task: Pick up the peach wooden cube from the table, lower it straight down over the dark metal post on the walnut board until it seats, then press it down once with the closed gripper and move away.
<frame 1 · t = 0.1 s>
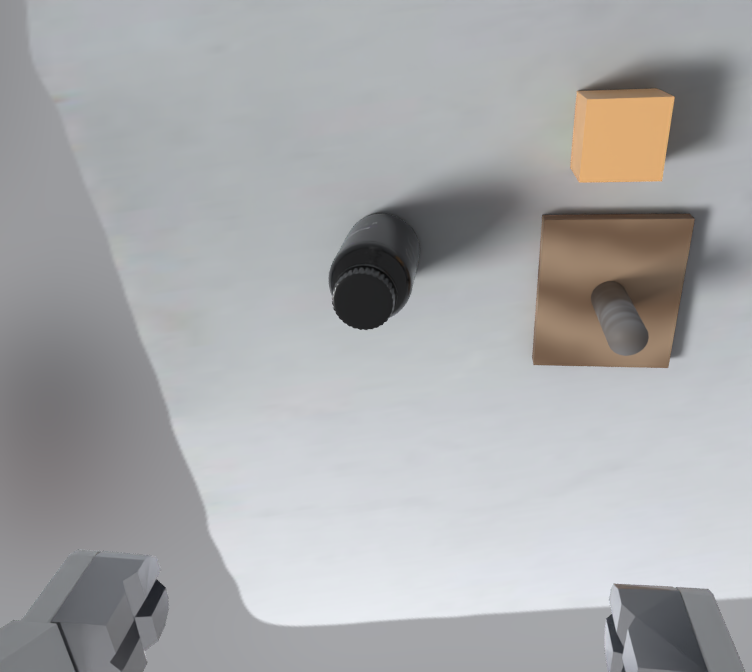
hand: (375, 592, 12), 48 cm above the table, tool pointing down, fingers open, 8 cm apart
supplement bottle: (383, 247, 60), on the table
peach wooden cube: (612, 129, 52), on the table
post board: (605, 290, 58), on the table
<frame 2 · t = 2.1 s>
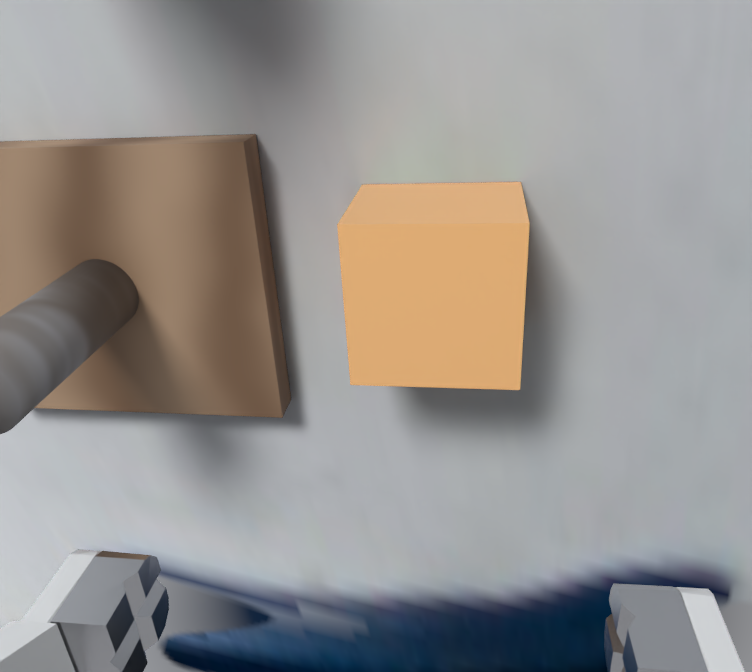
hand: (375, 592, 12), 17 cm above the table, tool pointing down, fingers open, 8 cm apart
peach wooden cube: (440, 257, 26), on the table
post board: (121, 278, 29), on the table
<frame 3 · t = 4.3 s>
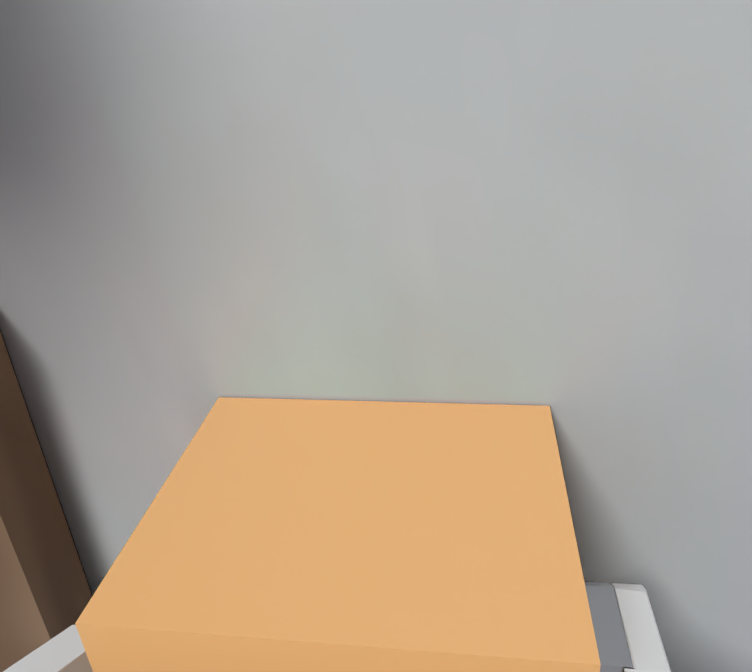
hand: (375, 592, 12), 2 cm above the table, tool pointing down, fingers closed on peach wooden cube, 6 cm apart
peach wooden cube: (385, 527, 13), on the table, touching gripper
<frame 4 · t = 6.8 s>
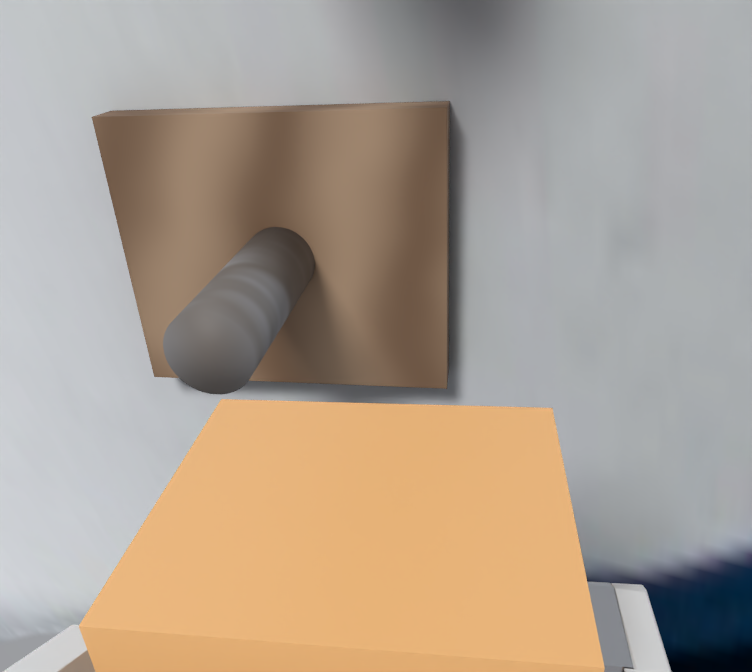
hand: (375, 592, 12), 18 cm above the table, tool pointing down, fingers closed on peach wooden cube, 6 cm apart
peach wooden cube: (388, 529, 13), point 17 cm above the table, touching gripper
post board: (289, 248, 29), on the table
when the fingers open (8 cm above the table, at t = 9.7 s): peach wooden cube drops 1 cm, resting on post board.
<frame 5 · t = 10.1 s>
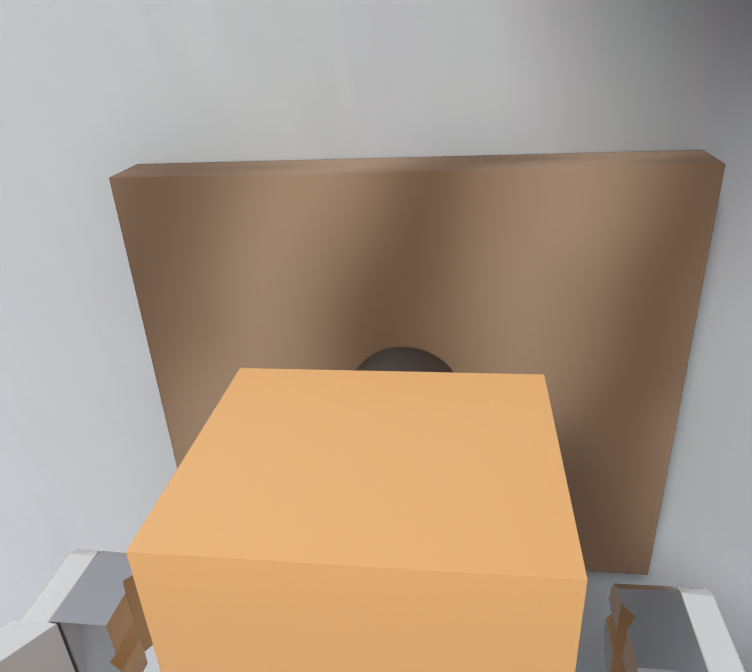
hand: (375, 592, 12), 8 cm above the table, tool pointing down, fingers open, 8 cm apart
peach wooden cube: (392, 491, 14), point 5 cm above the table, touching post board
post board: (409, 368, 19), on the table
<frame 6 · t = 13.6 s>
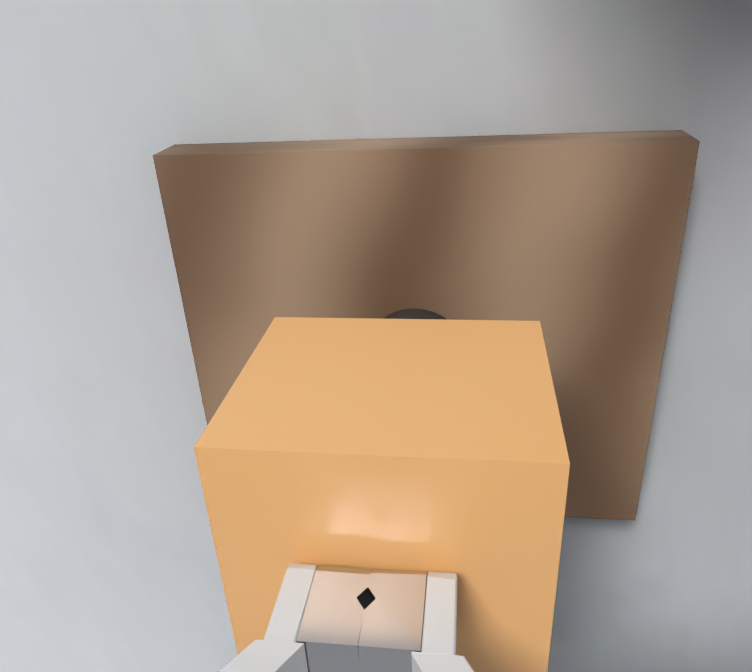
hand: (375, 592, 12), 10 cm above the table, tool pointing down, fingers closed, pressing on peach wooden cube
peach wooden cube: (407, 428, 16), point 5 cm above the table, touching gripper, post board
post board: (419, 331, 21), on the table
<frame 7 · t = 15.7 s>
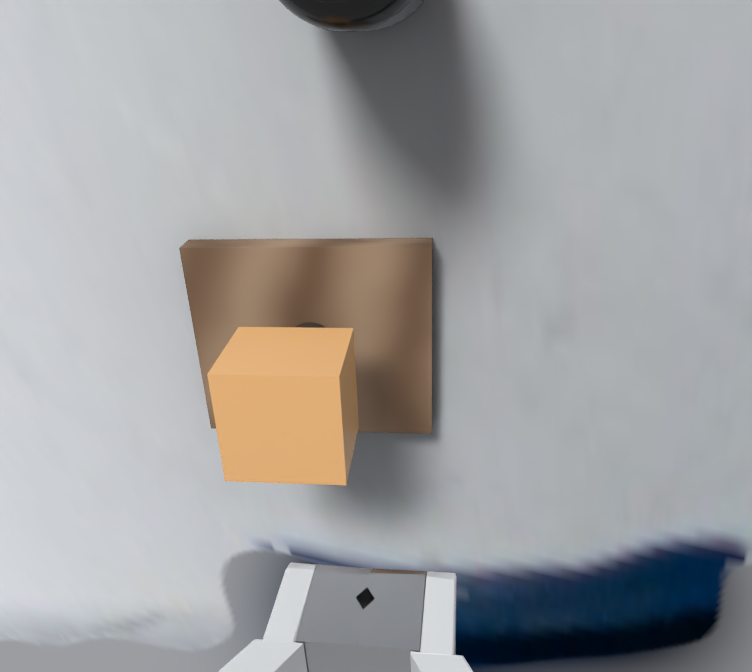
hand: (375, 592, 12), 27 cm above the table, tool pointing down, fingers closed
peach wooden cube: (300, 378, 35), point 5 cm above the table, touching post board
post board: (316, 334, 39), on the table
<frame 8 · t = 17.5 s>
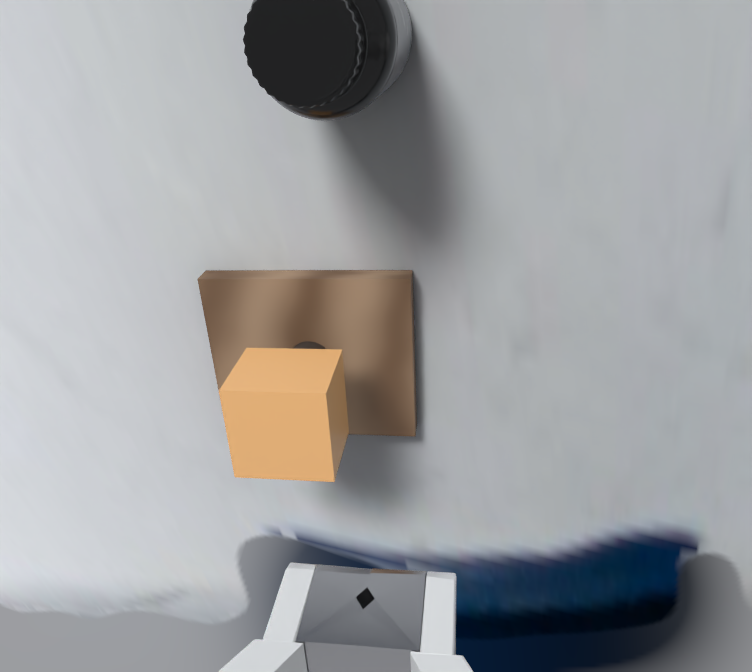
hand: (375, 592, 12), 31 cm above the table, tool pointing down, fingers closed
supplement bottle: (352, 34, 36), on the table
peach wooden cube: (298, 390, 41), point 5 cm above the table, touching post board
post board: (315, 350, 46), on the table
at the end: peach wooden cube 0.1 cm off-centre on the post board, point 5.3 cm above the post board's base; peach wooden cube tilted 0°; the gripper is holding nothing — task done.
